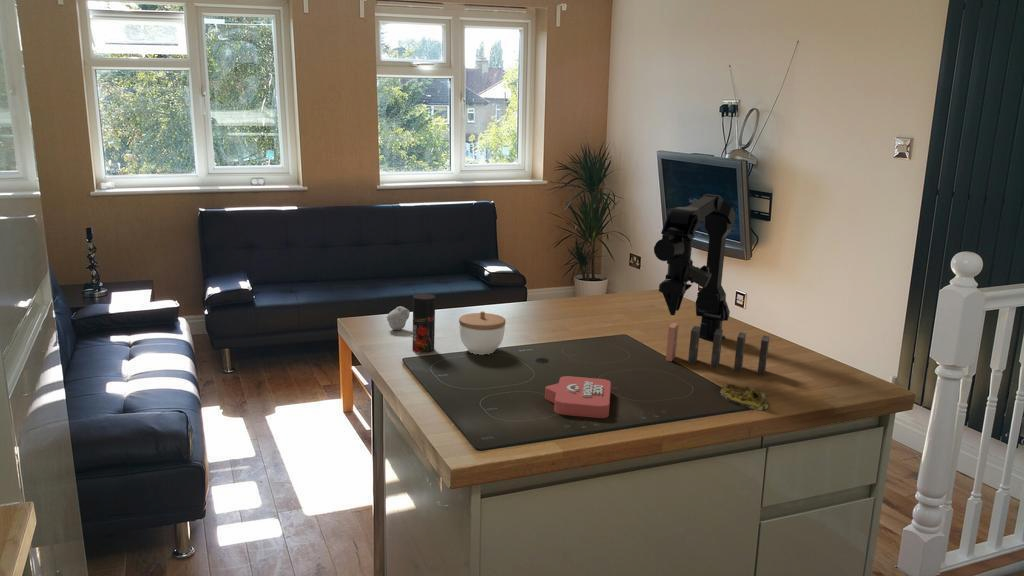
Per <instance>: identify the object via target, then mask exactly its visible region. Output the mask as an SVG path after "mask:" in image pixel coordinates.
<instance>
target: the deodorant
mask: <svg viewBox="0 0 1024 576" xmlns="http://www.w3.org/2000/svg"><path fill="white" fill-rule="evenodd" d="M435 323H436V295H434V294H431V293H418V294H417V293H416V294H414V295H412V352H415V353H418V354H429V353H433V352H434V351H435V334H436V332H435V331H436V330H435V325H436V324H435Z"/></svg>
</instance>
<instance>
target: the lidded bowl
mask: <svg viewBox="0 0 1024 576" xmlns="http://www.w3.org/2000/svg"><path fill="white" fill-rule="evenodd" d="M506 322H507V321H506V319H505V318H504V317H503V316H501V315H499V314H494V313H487V312H485V311H480V312H474V313H473V312H472V313H467V314H463V315H461V316H460V317H459V318H458V323H459V337H460V340H461V343H462V344H463V346H464V347H465V348H466V349H467V350H468V353H471V354H472V353H473V355H477V354H479V355H478V356H485V355H484V354H488V355H491V354H490V353H492V354H493V352H494V353H495V351H496V350H497V349H498V348H499V347H500V346H501V344H502V342H503V340H504V336H505V328H506Z"/></svg>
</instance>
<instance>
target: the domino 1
mask: <svg viewBox="0 0 1024 576" xmlns="http://www.w3.org/2000/svg"><path fill="white" fill-rule="evenodd" d="M678 334H679V323H677V322H672V323H671V324H670V325H668V334H667V343H666V354H665V355H666V356H665V362H673V360H674V359H675V358H676V353H677V344H678Z"/></svg>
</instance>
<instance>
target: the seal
mask: <svg viewBox="0 0 1024 576" xmlns="http://www.w3.org/2000/svg"><path fill="white" fill-rule="evenodd" d="M720 393H721V394H720ZM719 394H720V396H721V395H722V396H723V397H725V398H726V399H727V400H729V401H731V402H730V403H732V402H733V403H732V404H734V403H736V404H739V405H742V406H746V407H748V408H747V409H750V410H757V411H765V410H767V409H768V408H769V402H768V400H767V398H766V393H765V391H762V390H761V389H758V388H752V389H751V388H750V387H748V386H745V387H744V386H743V387H742V386H738V385H735V384H731V383H725V384H723V386H722V387H721V389H720V391H719ZM722 396H721V397H722ZM723 397H722V398H723ZM726 399H725V400H726ZM727 400H726V401H727ZM729 401H728V402H729ZM736 404H735V405H736ZM739 405H738V406H739ZM742 406H741V407H742Z"/></svg>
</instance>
